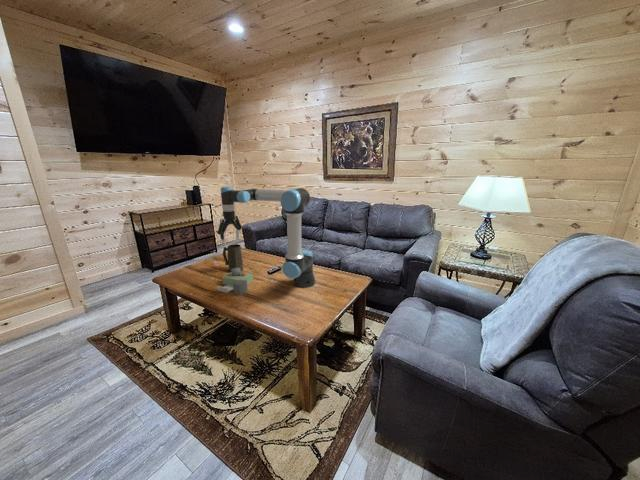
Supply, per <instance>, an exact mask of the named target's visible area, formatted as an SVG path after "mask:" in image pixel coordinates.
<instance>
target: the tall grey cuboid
mask: <svg viewBox="0 0 640 480" xmlns="http://www.w3.org/2000/svg"><path fill="white" fill-rule="evenodd" d="M232 291H233V294H234V295H237V296H242V295H243V294H244V293H246V292H247V291H248V285H247V281H245V280H241V279H240V280H238V281H237V282H235V283H233V290H232Z"/></svg>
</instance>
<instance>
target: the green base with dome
mask: <svg viewBox="0 0 640 480" xmlns="http://www.w3.org/2000/svg"><path fill="white" fill-rule="evenodd" d="M221 277H222V278H221V280H222V285H224V286H220V285H217V286H216V290H217V292H221V293H225V294H228V293H230V292H231V291H234V290H233V283H235V282H237V281H238V280H240V279H241V280H245V281H247V286H248V285H249V284H251V283H253V282H254V275H253V273H248V272H245V271H241V270H240V268H232V269H231V272H229V273H227V274H224V275H223V276H221ZM226 284H227V285H226Z"/></svg>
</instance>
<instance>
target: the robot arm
mask: <svg viewBox="0 0 640 480" xmlns="http://www.w3.org/2000/svg"><path fill="white" fill-rule="evenodd" d="M220 196H221V197H220V198H221V206H222V207H221V208H222V216H223V219H222V218H220V219H219V226H218V229H217V235H220V239H221V244H222V245H226V244H227V242H226V234H225V233H226V232H227V231H226V230H227V228H228V226H230V225H233V227H234V228H235V237H236V239H237V240H241V230H242V228H243V226H242V224H241V222H240V220H239V217H238V215H236V213H235V203H241V204H244V203H245V204H246V203H248V202H251V201H262V202H279V203H280V207H282V209H283V212H284V214H285V215H286V234H287V235H286V236H287V237H286V239H287V242H286V243H287V246H286V247H287V253H286V254H285V255H284V256H285V257H284V258H285V259H284V263H283V264H282V268H281V269H282V272H283V274H284V275H285V277H287V278H289V279H290V280H291V279H292V280H293V281H292V282H293V285H294V286H295V287H298V288H309V287H312V286H314V285H315V284H316V277H315V275H314V254H313V251H311V250H308V249H303V247H302V215H303V214H304V213H305V207H306V206H308V205H309V203H310V200H311V195H310V193H309V191H308V190H307V189H305V188H303V187H299V188H291V189H287V190H286V189H260V188H259V189H258V188H249V189H240V190H234V188H233V186H222V187H221V188H220Z"/></svg>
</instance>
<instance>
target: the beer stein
mask: <svg viewBox="0 0 640 480" xmlns="http://www.w3.org/2000/svg"><path fill="white" fill-rule="evenodd" d="M226 251H227V253H226ZM222 256H223V259H224V262H225V263H224V266H228V272H229V273H231V269H232V268H240V270H241V272H243V270H244V264H243V255H242V246H241V244H238V243H236V244H230V245H227V246H224V247H223V251H222Z"/></svg>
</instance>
